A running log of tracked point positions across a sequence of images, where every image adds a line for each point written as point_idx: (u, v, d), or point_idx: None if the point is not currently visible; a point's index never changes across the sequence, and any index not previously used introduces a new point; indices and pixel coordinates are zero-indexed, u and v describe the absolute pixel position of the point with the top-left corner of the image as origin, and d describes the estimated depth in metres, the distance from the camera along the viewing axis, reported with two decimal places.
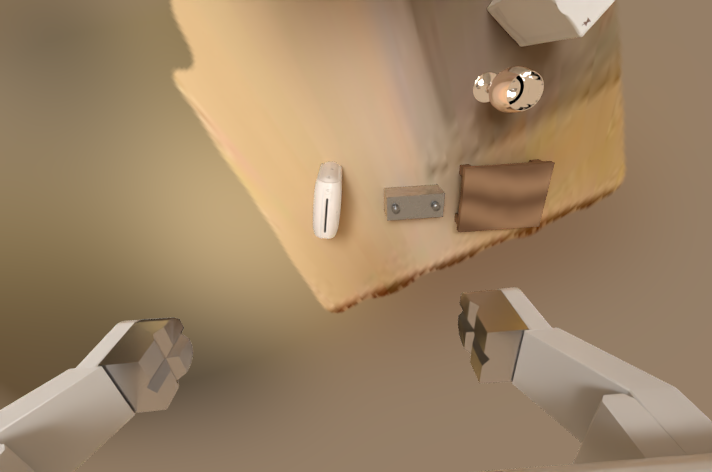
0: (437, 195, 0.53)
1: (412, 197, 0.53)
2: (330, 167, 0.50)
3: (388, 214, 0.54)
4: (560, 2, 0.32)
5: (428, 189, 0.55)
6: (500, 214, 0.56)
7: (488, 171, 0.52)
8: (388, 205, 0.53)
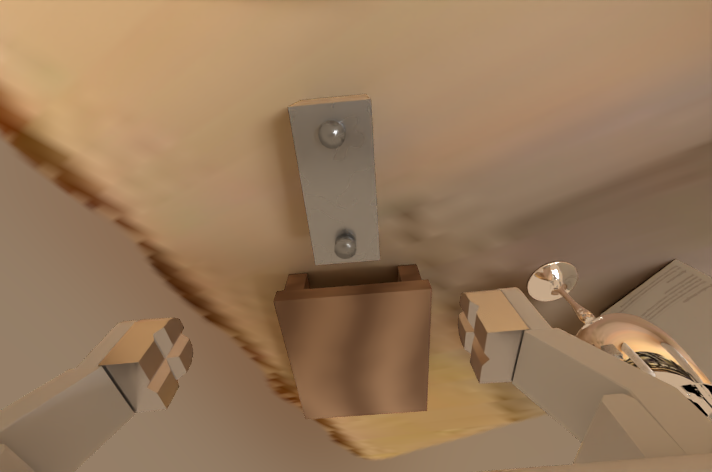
0: (373, 243, 0.20)
1: (370, 181, 0.18)
2: None
3: (309, 110, 0.16)
4: None
5: None
6: (326, 363, 0.27)
7: (421, 328, 0.25)
8: (342, 107, 0.16)
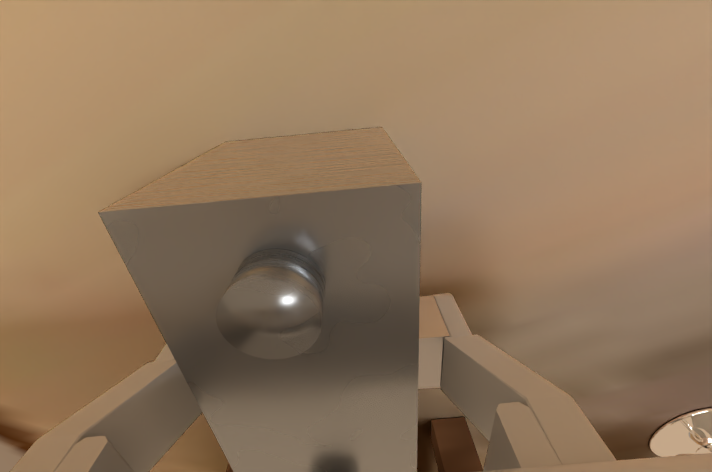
0: None
1: (402, 394, 0.06)
2: None
3: (183, 222, 0.04)
4: None
5: None
6: None
7: None
8: (311, 210, 0.04)
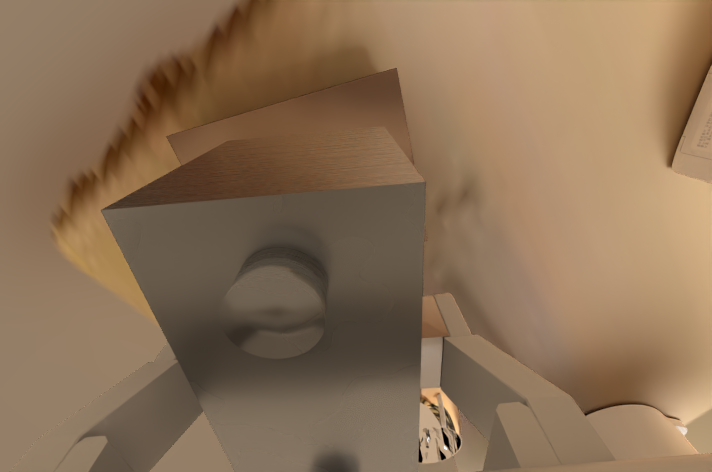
0: None
1: (404, 394, 0.06)
2: None
3: (187, 220, 0.04)
4: None
5: None
6: None
7: None
8: (315, 209, 0.04)
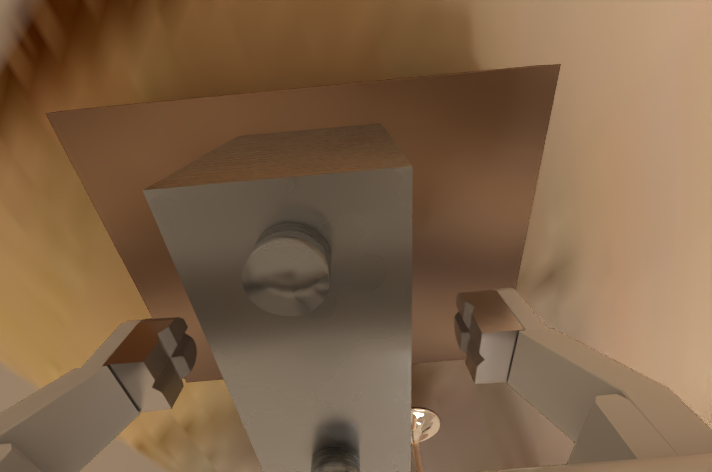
0: (399, 458, 0.09)
1: (397, 358, 0.07)
2: None
3: (214, 199, 0.05)
4: None
5: None
6: None
7: (418, 352, 0.14)
8: (321, 190, 0.05)
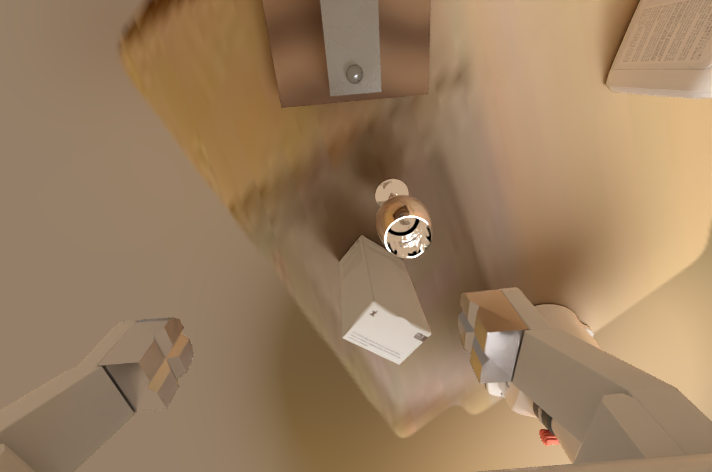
0: (376, 74, 0.26)
1: (374, 12, 0.24)
2: None
3: None
4: (406, 324, 0.31)
5: None
6: None
7: (389, 89, 0.31)
8: None
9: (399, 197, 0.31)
